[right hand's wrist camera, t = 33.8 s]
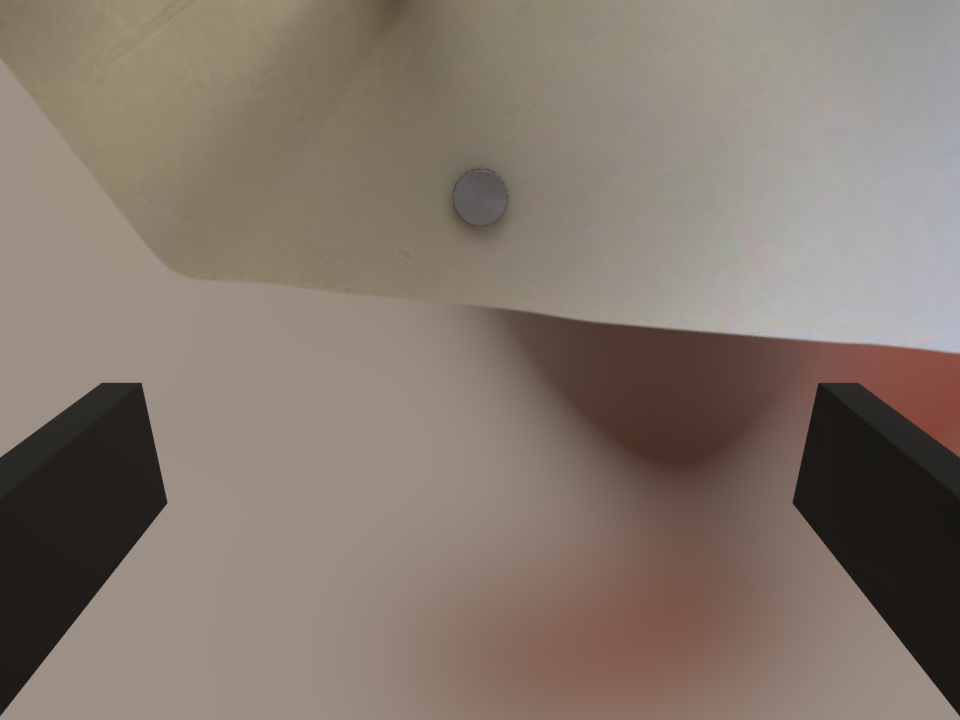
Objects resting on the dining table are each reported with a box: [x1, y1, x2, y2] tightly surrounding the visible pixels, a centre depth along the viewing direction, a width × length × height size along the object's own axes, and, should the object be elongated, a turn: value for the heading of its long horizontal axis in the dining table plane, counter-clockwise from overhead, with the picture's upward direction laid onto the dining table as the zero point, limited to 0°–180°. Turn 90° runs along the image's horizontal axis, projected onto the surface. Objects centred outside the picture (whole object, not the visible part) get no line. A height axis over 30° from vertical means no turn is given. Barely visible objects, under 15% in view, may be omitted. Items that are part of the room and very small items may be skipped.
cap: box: [453, 168, 508, 226], centre depth 46 cm, size 4×4×2 cm
